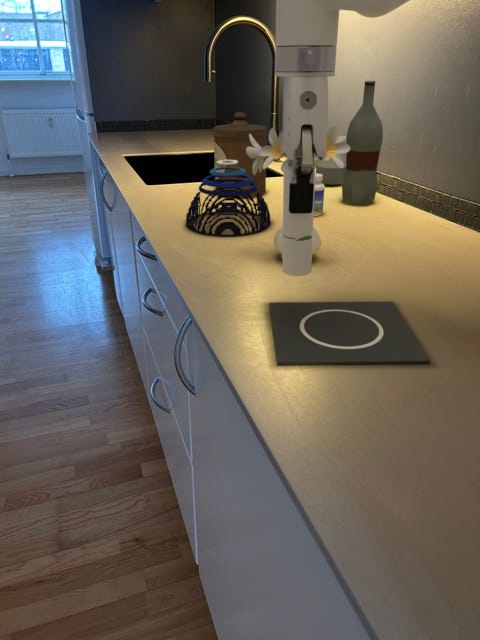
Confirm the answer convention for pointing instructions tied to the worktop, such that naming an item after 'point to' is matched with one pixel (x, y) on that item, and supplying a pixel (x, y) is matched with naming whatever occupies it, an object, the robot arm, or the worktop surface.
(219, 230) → the decorative bowl
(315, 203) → the pill bottle
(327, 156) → the flower vase
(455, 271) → the worktop surface
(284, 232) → the tube
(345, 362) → the slate board
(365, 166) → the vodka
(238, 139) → the wooden container
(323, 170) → the smart speaker
